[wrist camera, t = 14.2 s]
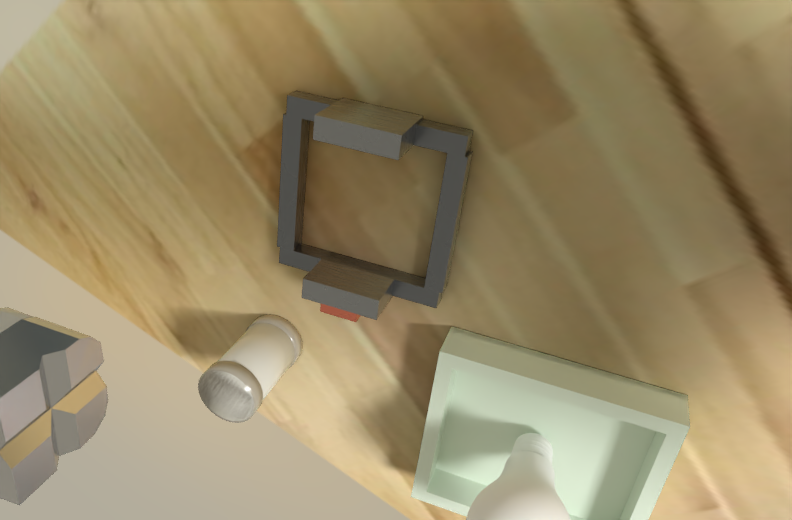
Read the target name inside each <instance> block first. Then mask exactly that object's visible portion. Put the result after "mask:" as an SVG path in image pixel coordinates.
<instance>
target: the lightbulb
mask: <svg viewBox="0 0 792 520" xmlns="http://www.w3.org/2000/svg"><path fill="white" fill-rule="evenodd" d="M552 456H553V449H552V445H551V443H550V442H549V441H548V440H547V439H546V438H545V437H543V436H542V435H539V434H536V433H526V434H523V435H521V436H519V437H518V438H517V439H516V441H515V444H514V447H513V450H512V453H511V456H510V457H509V458H508V459H507V461H506V463H505V466H504V469H503V471H502V473H501V475H500V477H499V478H498V479H497V480H495V481H494V482H492V483H491V484H489V485H488V486H487V487H486V488H485V489H483V490H482V491H481V492H480V493H479V494H478V495H477V497H476V498H475V500H474V501H473V503H472V505H471V507H470V509H469V511H468V515H467V518H466V520H571V519H570V516H569V514H568V512H567V510H566V508H565V506H564V504H563V502H562V501H561V499H560V497H559V496H558V494H557V492H556V489H555V483H554V478H555V473H554V469H553V466H552V460H553V459H552Z"/></svg>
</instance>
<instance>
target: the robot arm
mask: <svg viewBox="0 0 792 520" xmlns="http://www.w3.org/2000/svg"><path fill="white" fill-rule="evenodd" d="M103 362H104V360H103V354H102V349H101V343H100V342H99V341H97V340H96V339H94V338H92V337H91V336H88V335H85V334H82V333H79V332H77V331H74V330H71V329H68V328H66V327H63V326H60V325H57V324H54V323H51V322H49V321H46V320H43V319H40V318H38V317H33V316H30V315H27V314H24V313H22V312H19V311H16V310H13V309H10V308H0V498H1V499H4V500H7V501H9V502H12V503H15V504H18V505H20V504H21V503H23V502H24V501H25V500H26V499H27V498H28V497H29V496H30V495H31V494H32V493H33V492H34V491H35V490H36V489H38V488H39V487H40V486H41V485H42V484H43V483H44V482H45V481H46V480H47V479H48V478H49V477H50V476H51V475H53V474H54V472H56V470H57V465H58V460H59V456H60V455H63V454H66V453H69V452H72V451H74V450H77V449H80V448H81V447H82V446H83V445H84V444H85V443H86V442H87V441H88V440H89V439H90V438H91V437H92V436H93V435H94V434H95V433H96V431H97V429H98V427H99V425H100V424H101V422H102V420H103V418H104V416H105V413H106V408H107V403H108V394H107V386H106V384H105V383H104V381H103V380H102V379H101V377H100V375H99V374H98V373H97V371H96V370H97V369H98V368H99V367H100V365H101V364H102V363H103Z"/></svg>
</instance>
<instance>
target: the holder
mask: <svg viewBox="0 0 792 520" xmlns="http://www.w3.org/2000/svg"><path fill="white" fill-rule="evenodd" d="M310 121H314V130H313V140H317V141H321V142H325V143H329V144H333V145H338V146H342V147H346V148H350V149H354V150H358V151H362V152H366V153H371V154H375V155H379V156H383V157H387V158H391V159H395V160H399V159H400V158H401V157H402V156H403V155H404V154H405V153H406V152H407V151H408V150H409V149H410V148H411V147H412V146H413V145H416V146H420V147H424V148H428V149H433V150H437V151H441V152H445V153H447V158H446V164H445V170H444V176H443V182H442V187H441V193H440V199H439V205H438V211H437V216H436V222H435V228H434V234H433V240H432V245H431V251H430V257H429V263H428V269H427V274H426V278H423V277H419V276H416V275H412V274H409V273H405V272H402V271H398V270H394V269H391V268H387V267H384V266H380V265H377V264H373V263H369V262H366V261H362V260H359V259H355V258H352V257H348V256H344V255H341V254H337V253H334V252H330V251H326V250H323V249H319V248H316V247H312V246H309V245H305V244H302V230H303V215H304V200H305V185H306V170H307V155H308V140H309V125H310ZM472 134H473V131H472V130H468V129H463V128H459V127H455V126H450V125H446V124H441V123H437V122H433V121H428V120H424V119H423V116H421V115H417V114H413V113H408V112H404V111H399V110H395V109H390V108H386V107H381V106H377V105H373V104H368V103H364V102H359V101H355V100H350V99H346V98H342V99H340V100H335V99H331V98H327V97H322V96H318V95H313V94H309V93H305V92H300V91H295V92H293V93H291V94H289V95H287V113H285V114H283V133H282V154H281V176H280V197H279V218H278V240H277V246H278V247H280V256H279V263H281V264H285V265H288V266H292V267H295V268H299V269H302V270H306V271H309V273H308V274H307V275H306V276H305V277H304V278H303V288H302V298H305V299H308V300H311V301H315V302H318V303H321V308H320V311H321V312H324V313H327V314H331V315H334V316H337V317H340V318H344V319H347V320H350V321H354V322H356V321H357V320H358V319H359V317H360V316H365V317H368V318H372V319H375V320H377V319H378V317H379V316H380V314H381V313H382V311H383V310H384V308H385V307H386V305H387V304H388V302H389V301H390V299H391V298H392V296H396V297H399V298H403V299H406V300H409V301H413V302H416V303H420V304H423V305H427V306H430V307H434V308H437V306H438V304H439V303H440V301H441V298H442V293H443V291H444V289H445V288H446V286H447V283H448V278H449V273H450V268H451V262H452V257H453V252H454V247H455V241H456V236H457V231H458V226H459V221H460V215H461V210H462V205H463V200H464V194H465V189H466V184H467V179H468V173H469V168H470V163H471V158H472V153H473V151H469V150H470V145H471V139H472Z"/></svg>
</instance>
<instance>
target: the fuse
mask: <svg viewBox="0 0 792 520" xmlns="http://www.w3.org/2000/svg"><path fill="white" fill-rule="evenodd" d="M301 352H302V339H301V336H300V334H299V332H298V331H297V329H296V328H295V327H294V326H293V325H292V324H291V323H290V322H289V321H287V320H286V319H284V318H282V317H280V316H276V315H263V316H260V317H258V318H257V319H256V320H255V321H254V322H253V323H252V324H251V325H250V326H249V327H248V328H247V330H246V332H245V333H244V334H243V335H242V336H241V337H240V339H239V340H238V341H237V342H236V343H235V344H234V345H233V346H232V347H231V348H230V349H229V350H228V351H227V352H226V353H225V354H224V355H223V356H222V357H221V358H220V359H219V360H218V361H217V362H216V363H214V364H213V365H211V366H210V367H209V369H208V370H207V371H206V372H205V373H204V374H203V375H202V376H201V378H200V380H199V383H198V390H199V394H200V397H201V399H202V401H203V402H204V404H205V405H206V406H207V408H208V409H209V410H210V411H211V412H213V413H214V414H215V415H216V416H218V417H220V418H222V419H224V420H226V421H229V422H237V423H239V422H244V421H247V420H248V419H250V418H251V417H252V416H253V414H254V413H255V412H256V411H257V409H258V408H259V407H260V405H261V404H262V401H263V399H264V398H265V397H266V396H267V394H268V393H269V392H270V391H271V389H272V388H273V387H274V386H275V384H276V383H277V382H278V380H279V379H280V378H281V377H282V375H283V374H284V373H285V372H286V370H287V369H288V368H290V367H291V366H292V365H293V364H294V363H295V361H296V360H297V359H298V357H299V356H300V354H301Z"/></svg>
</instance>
